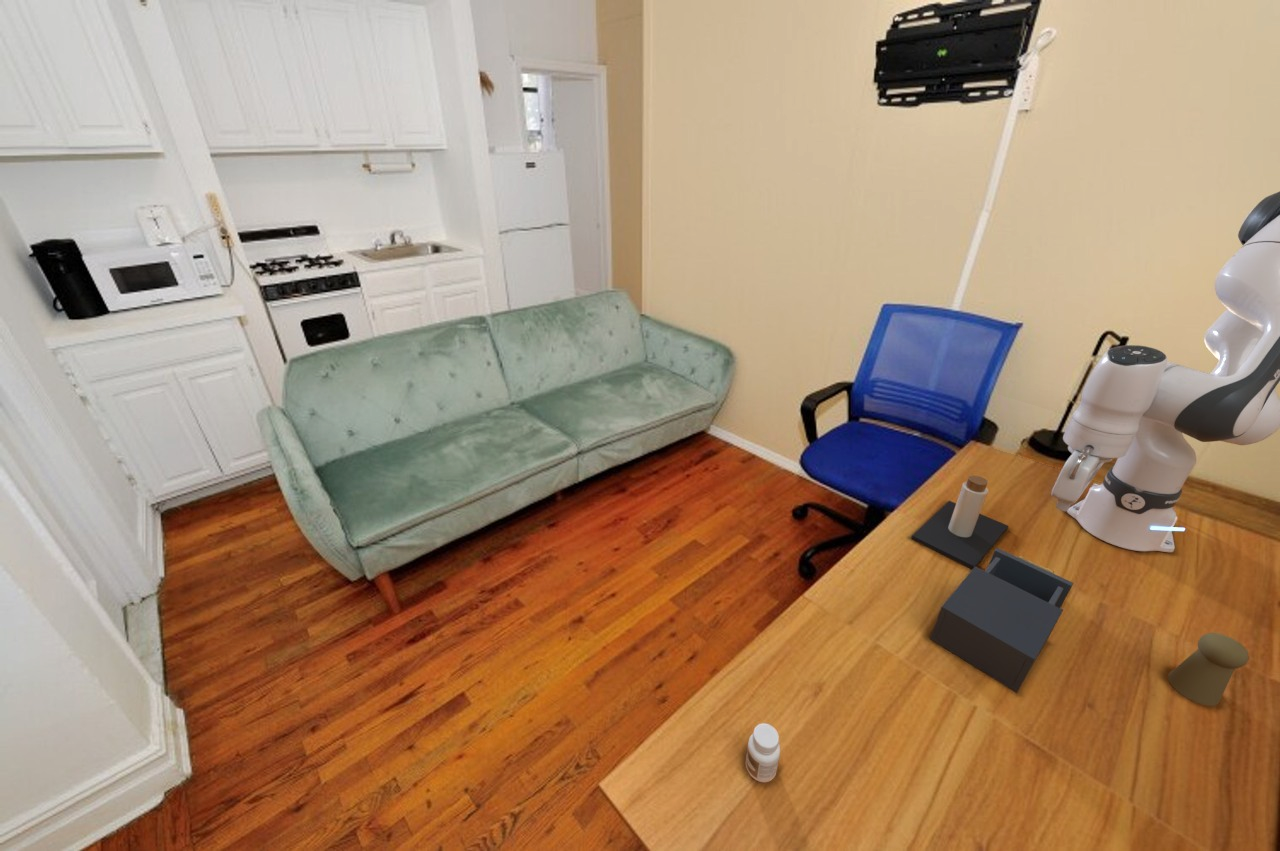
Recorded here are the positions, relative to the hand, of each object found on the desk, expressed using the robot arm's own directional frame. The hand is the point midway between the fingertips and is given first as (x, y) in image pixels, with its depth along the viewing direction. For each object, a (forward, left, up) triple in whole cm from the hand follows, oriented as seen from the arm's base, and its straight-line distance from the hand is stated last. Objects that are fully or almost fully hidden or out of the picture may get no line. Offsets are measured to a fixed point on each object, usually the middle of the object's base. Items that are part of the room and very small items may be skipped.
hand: (1067, 500), depth 95 cm
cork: (+10, +25, -19) cm, 33 cm away
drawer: (+12, 0, -18) cm, 22 cm away
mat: (-2, -15, -19) cm, 24 cm away
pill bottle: (+73, -13, -19) cm, 76 cm away
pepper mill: (-2, -15, -18) cm, 24 cm away
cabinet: (+25, 0, -19) cm, 31 cm away
